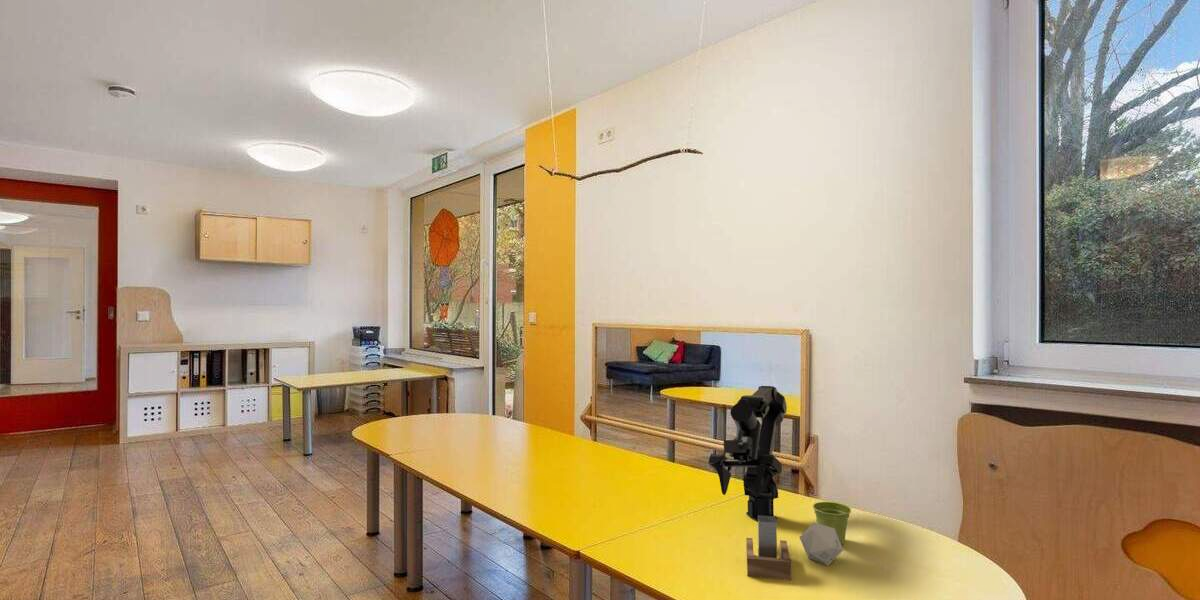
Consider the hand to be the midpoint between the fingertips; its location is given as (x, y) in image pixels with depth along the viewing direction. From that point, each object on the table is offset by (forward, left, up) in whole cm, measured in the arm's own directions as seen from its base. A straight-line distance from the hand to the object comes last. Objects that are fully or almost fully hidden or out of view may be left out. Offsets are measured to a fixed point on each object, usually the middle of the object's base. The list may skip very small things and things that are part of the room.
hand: (739, 495), depth 150 cm
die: (-14, +13, -13) cm, 24 cm away
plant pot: (-24, +4, -13) cm, 28 cm away
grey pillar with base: (0, +12, -13) cm, 18 cm away
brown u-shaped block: (0, +12, -13) cm, 18 cm away
